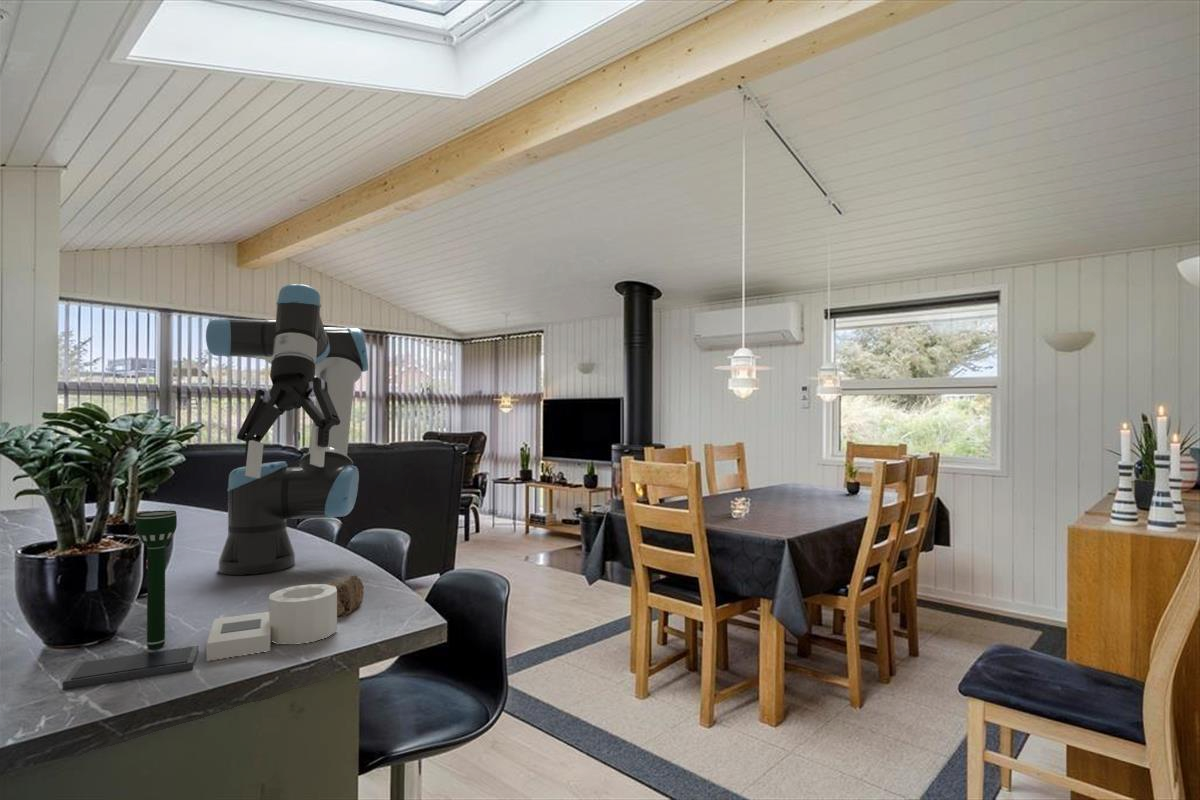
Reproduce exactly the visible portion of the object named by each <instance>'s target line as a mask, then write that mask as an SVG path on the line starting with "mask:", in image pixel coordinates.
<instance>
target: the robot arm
mask: <svg viewBox="0 0 1200 800" xmlns="http://www.w3.org/2000/svg"><path fill="white" fill-rule="evenodd" d="M321 308H322V305H321V295H320V292H319V291H318V290H317V289H315V288H313V287H312V286H310V285H307V284H302V283H299V284H298V283H291V284H287V285H285V286H283V287H281V289H280V290H279V293H278V298H277V302H276V317H275V320H274V319H273V320H272V319H264V320H263V319H236V318H227V317H226V318H215V319H212V320H210V321H209V322H208V324H207V325H206V330H205V341H206V343H205V344H206V347H207V349H208V351H209V353H210V354H211V355H213V356H217V357H226V358H227V357H229V358H230V357H238V358H239V357H240V358H242V357H243V358H251V359H258V360H264V361H265V362H267V363H268V364H270V374H269V375H270V376H269V378H270V381H271V383H272V386H271V389H270V390H263V389H260V388H259V389H258V390H257V391H256V392H255V398H254V402H253V403H252V405H251V408H250V409H249V411H248V414H247V416H246V417H245V419H244V422H243V423H242V425H241V427H240V429H239V431H238V433H237V435H236V438H237V440H240V441H243V442H244V443H245V451H244V453H245V454H244V458H245V460H246V465H245V466H241V467H237V468H234V469H232V471H230V473H229V475H228V484H227V485H228V487H227V491H226V492H227V525H228V527H227V528H228V529H227V537H226V540H225V543H224V545H223V549H222V552H221V554H220V557H219V560H218V572H219V573H220V574H224V575H230V576H244V575H245V574H251V575H260V574H259V573H261V574H267V573H273V572H278V571H280V570H281V571H282V570H286V569H288V568H290V567H292V566H294V565H295V563H296V553H295V550H294V547H293V545H292V542H291V540H290V539H291V538H290V537H289V533H288V530H287V520H291V519H292V520H296V519H297V520H298V519H299V520H300V519H322V518H323V519H325V518H326V519H332V518H337V517H338V518H339V517H346V516H347V515H349V514H350V513H351V512H352V511H353V509H354V507H355V504H356V500H357V495H358V491H359V482H360V472H359V469H358V467H357V466H355V465H354V462H353V460H352V459H351V458H350V457H349V456H348V448H349V439H350V431H351V430H350V429H351V421H352V420H351V418H352V409H353V399H354V398H353V397H354V389H355V383H356V382H357V381H359V379H360V378H361V376H362V373H364V372H367V371H369V359H368V351H367V344H366V343H367V342H366V337H365V332H364V331H363V329H361V328H357V327H348V326H345V327H325V326H324V324H323V321H322V318H321V314H320V313H321V311H320V310H321ZM312 392H313V394H314V396H315V402H314V401H313V400H312V399H311V398H310V395H311V394H312ZM294 409H295V410H296V409H297V410H298V409H303V411H304V412H305V413H306V414H307V416H308V417H310V419H311V421H312V424H311V432H310V438H309V447H308V453H306V454H304V455H303V456H302V457H301V458H300V461H299V466H295V467H294V466H293V467H288V465H289V464H288V463H287V461H286V460H285V461H284V460H283V461H274V462H273V461H271V462H264V463H263V455H264V445H265V444H264V443H262V442H261V441H262V440H263V439H264V437H265V436H266V434H268V432H269V430H270V429H271V428H272V426H273V425H274V424H275V423H276V421H277V420H278V418H279V417H280V416H282V415H283V414H284V413H285V412H289V411H292V410H294ZM245 576H246V575H245Z"/></svg>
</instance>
